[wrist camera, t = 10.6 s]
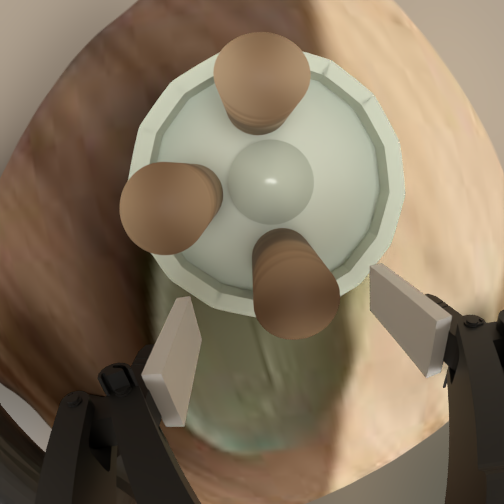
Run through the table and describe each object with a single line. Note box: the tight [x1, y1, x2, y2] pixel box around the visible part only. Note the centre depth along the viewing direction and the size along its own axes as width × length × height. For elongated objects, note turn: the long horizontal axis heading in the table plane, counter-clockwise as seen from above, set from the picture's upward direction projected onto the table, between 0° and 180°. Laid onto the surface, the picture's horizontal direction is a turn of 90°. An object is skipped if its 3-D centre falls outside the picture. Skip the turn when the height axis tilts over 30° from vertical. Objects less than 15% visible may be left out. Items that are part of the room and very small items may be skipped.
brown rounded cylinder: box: [120, 162, 223, 255], centre depth 18 cm, size 5×5×8 cm
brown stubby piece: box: [252, 228, 340, 340], centre depth 19 cm, size 5×5×8 cm
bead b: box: [213, 32, 311, 135], centre depth 16 cm, size 5×5×8 cm
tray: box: [128, 51, 405, 317], centre depth 21 cm, size 20×20×2 cm
